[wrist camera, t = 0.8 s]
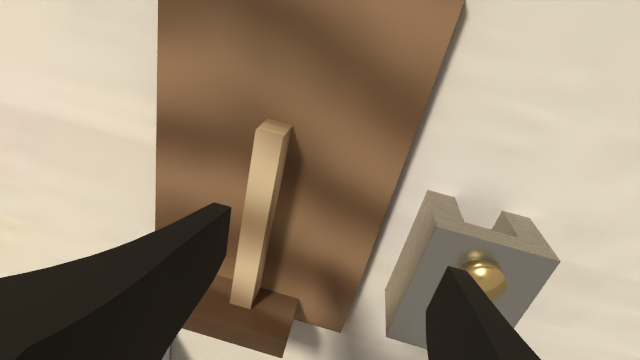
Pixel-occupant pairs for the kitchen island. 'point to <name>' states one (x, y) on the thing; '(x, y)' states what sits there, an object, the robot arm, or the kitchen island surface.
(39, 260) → the kitchen island surface
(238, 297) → the board
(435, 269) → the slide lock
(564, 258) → the kitchen island surface
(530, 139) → the kitchen island surface
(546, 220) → the kitchen island surface
